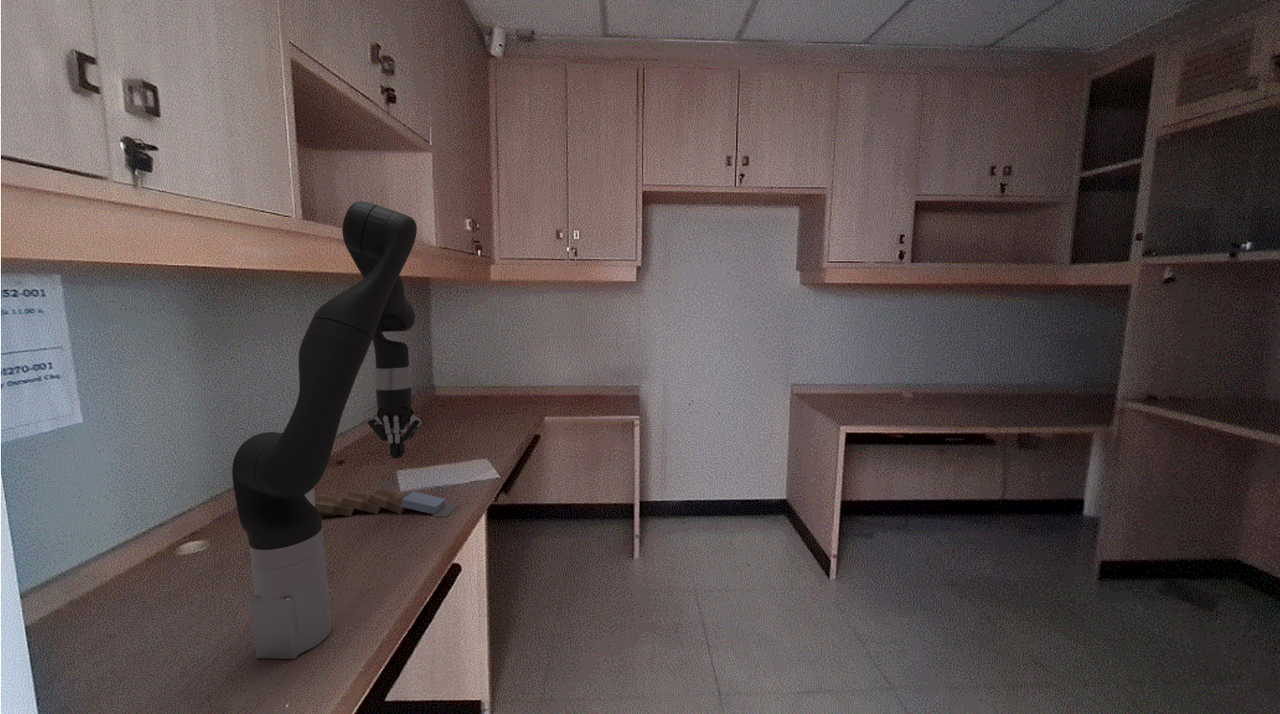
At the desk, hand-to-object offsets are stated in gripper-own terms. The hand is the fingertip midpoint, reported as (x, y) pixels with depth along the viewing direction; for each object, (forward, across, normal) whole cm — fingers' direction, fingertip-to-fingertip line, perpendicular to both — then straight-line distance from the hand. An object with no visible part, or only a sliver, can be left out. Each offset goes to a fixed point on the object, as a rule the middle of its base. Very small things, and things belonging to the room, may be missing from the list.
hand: (397, 457), depth 120 cm
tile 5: (+16, +19, -5) cm, 25 cm away
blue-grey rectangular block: (+14, -7, -6) cm, 17 cm away
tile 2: (+15, +2, -6) cm, 16 cm away
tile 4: (+15, +15, -5) cm, 21 cm away
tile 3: (+15, +8, -6) cm, 18 cm away
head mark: (+16, -8, -6) cm, 19 cm away
